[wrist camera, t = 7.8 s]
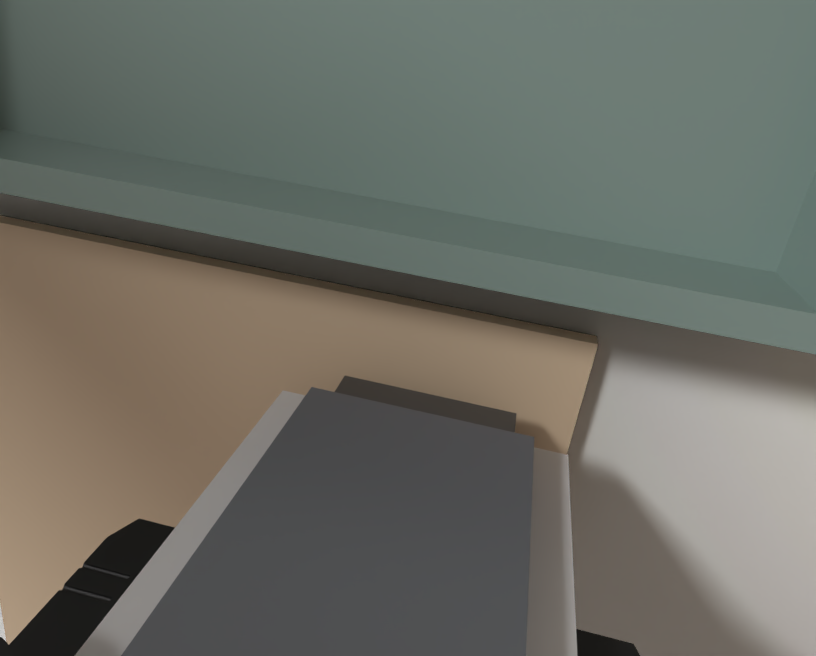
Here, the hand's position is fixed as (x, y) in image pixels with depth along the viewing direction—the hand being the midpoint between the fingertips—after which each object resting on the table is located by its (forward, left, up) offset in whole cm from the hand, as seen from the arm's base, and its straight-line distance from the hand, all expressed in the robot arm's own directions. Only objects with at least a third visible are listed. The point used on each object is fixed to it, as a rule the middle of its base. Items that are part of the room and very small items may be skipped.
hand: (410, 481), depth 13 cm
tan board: (-4, -5, -2) cm, 7 cm away
